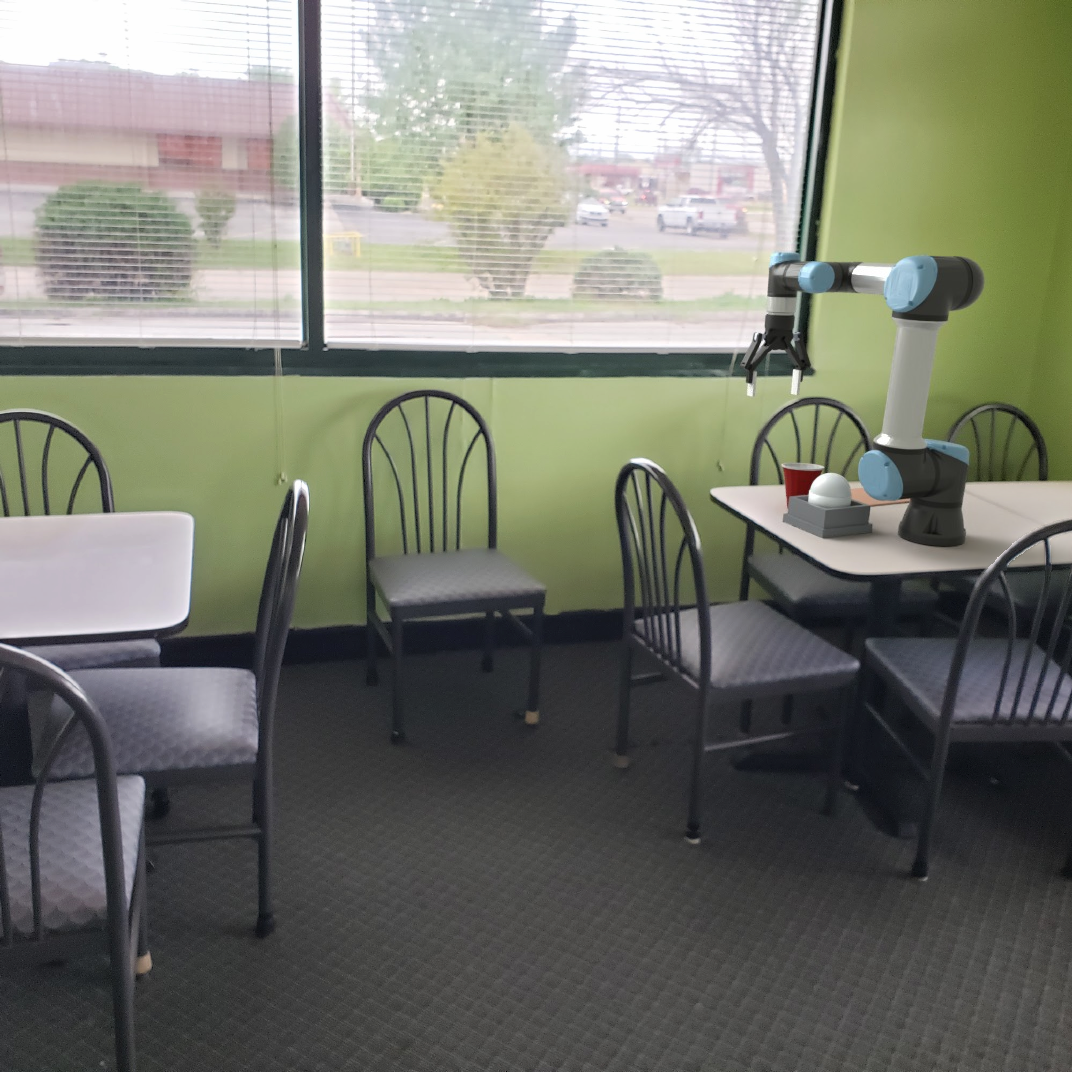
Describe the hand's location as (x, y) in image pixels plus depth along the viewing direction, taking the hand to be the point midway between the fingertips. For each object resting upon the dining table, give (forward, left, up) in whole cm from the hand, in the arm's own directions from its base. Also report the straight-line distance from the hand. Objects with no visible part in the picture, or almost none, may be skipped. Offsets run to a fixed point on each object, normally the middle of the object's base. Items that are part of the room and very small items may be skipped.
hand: (773, 395), depth 272 cm
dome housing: (-31, +5, -27) cm, 42 cm away
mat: (-11, -27, -27) cm, 40 cm away
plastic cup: (-15, +1, -28) cm, 32 cm away
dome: (-31, +4, -24) cm, 40 cm away
